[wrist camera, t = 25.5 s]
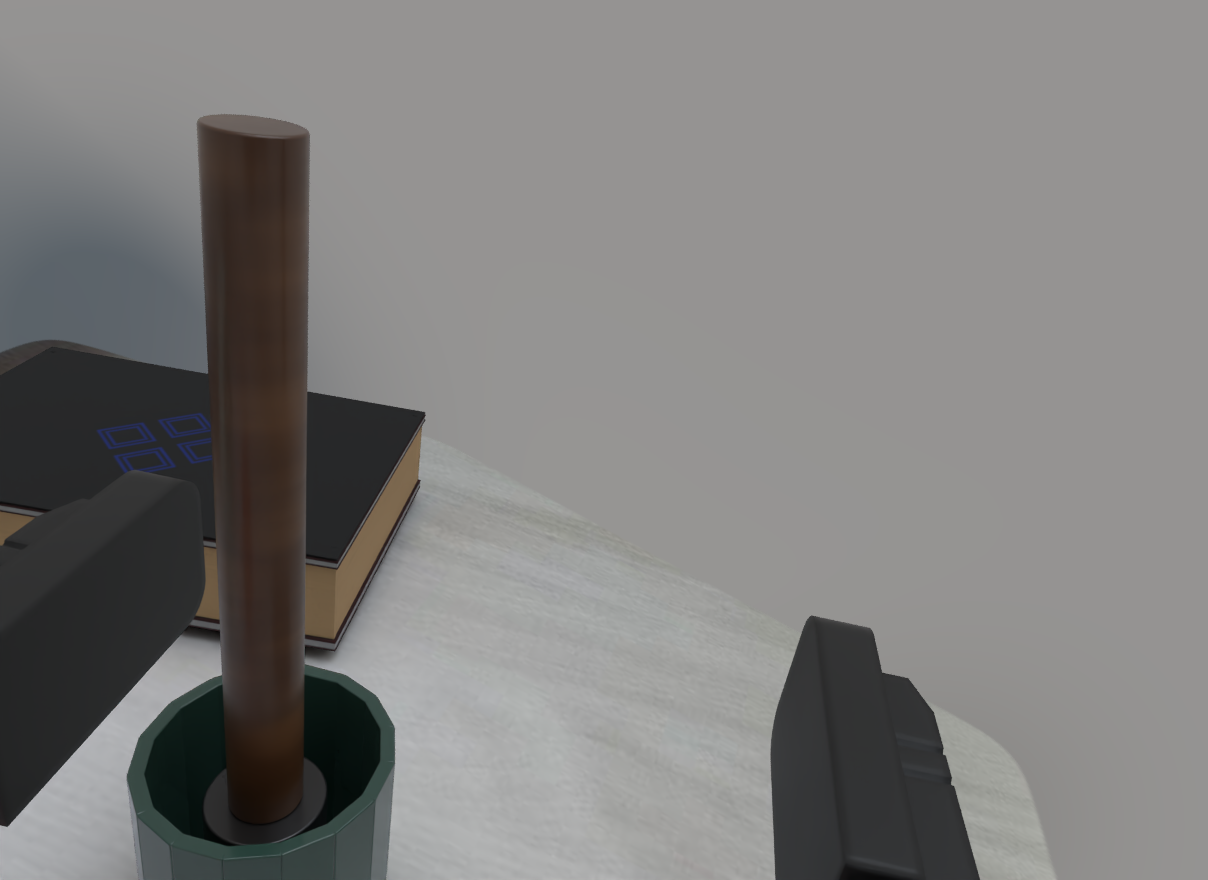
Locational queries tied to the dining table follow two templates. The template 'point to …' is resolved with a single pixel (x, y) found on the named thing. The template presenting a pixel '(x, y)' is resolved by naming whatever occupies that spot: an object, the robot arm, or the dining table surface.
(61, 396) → the book
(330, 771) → the green faceted cup
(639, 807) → the dining table surface
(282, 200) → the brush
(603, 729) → the dining table surface
